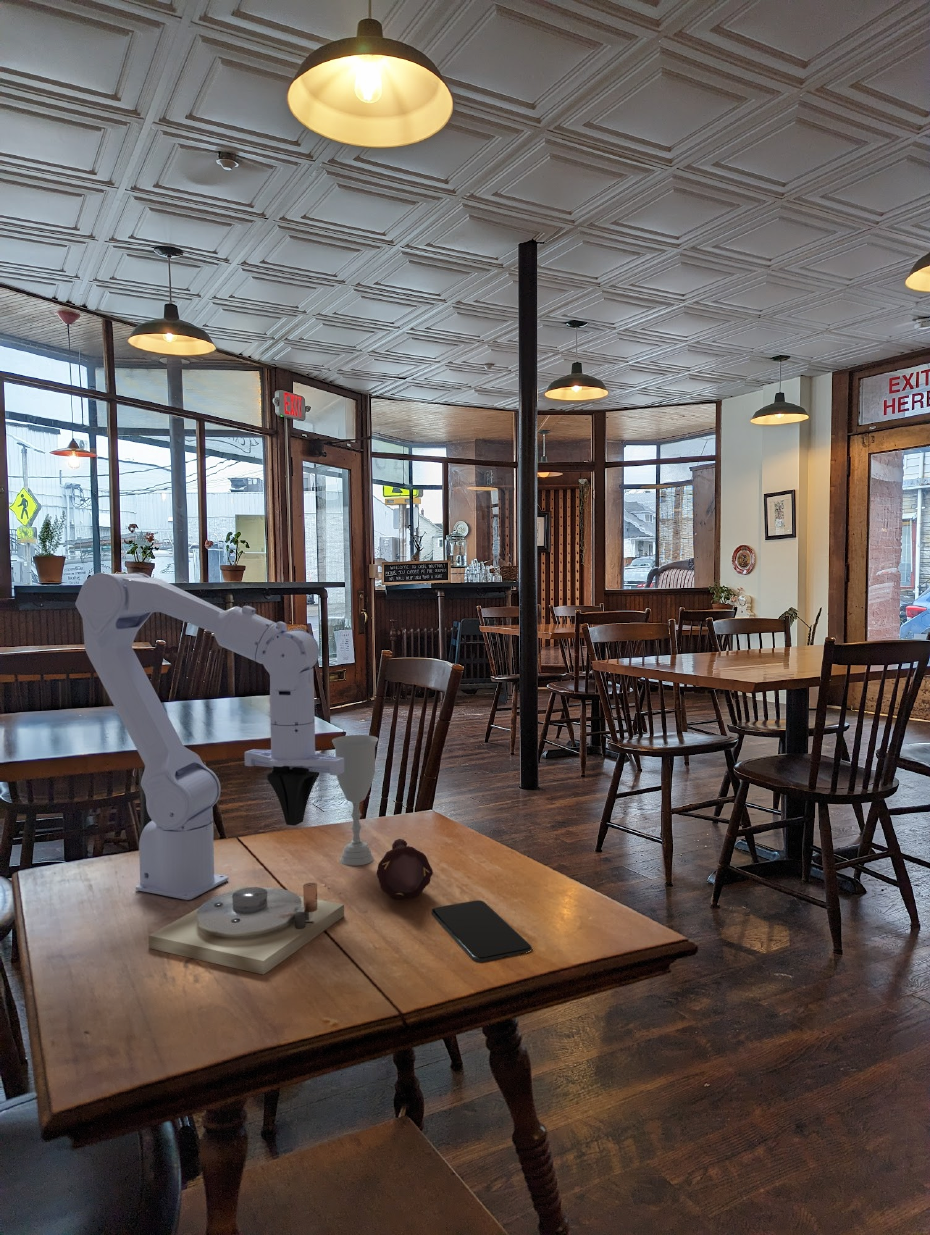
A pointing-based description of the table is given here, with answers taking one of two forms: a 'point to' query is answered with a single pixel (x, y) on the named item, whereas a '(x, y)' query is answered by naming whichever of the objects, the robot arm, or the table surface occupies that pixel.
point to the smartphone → (480, 931)
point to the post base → (244, 939)
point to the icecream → (403, 871)
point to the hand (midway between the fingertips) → (294, 823)
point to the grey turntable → (254, 911)
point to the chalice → (356, 788)
